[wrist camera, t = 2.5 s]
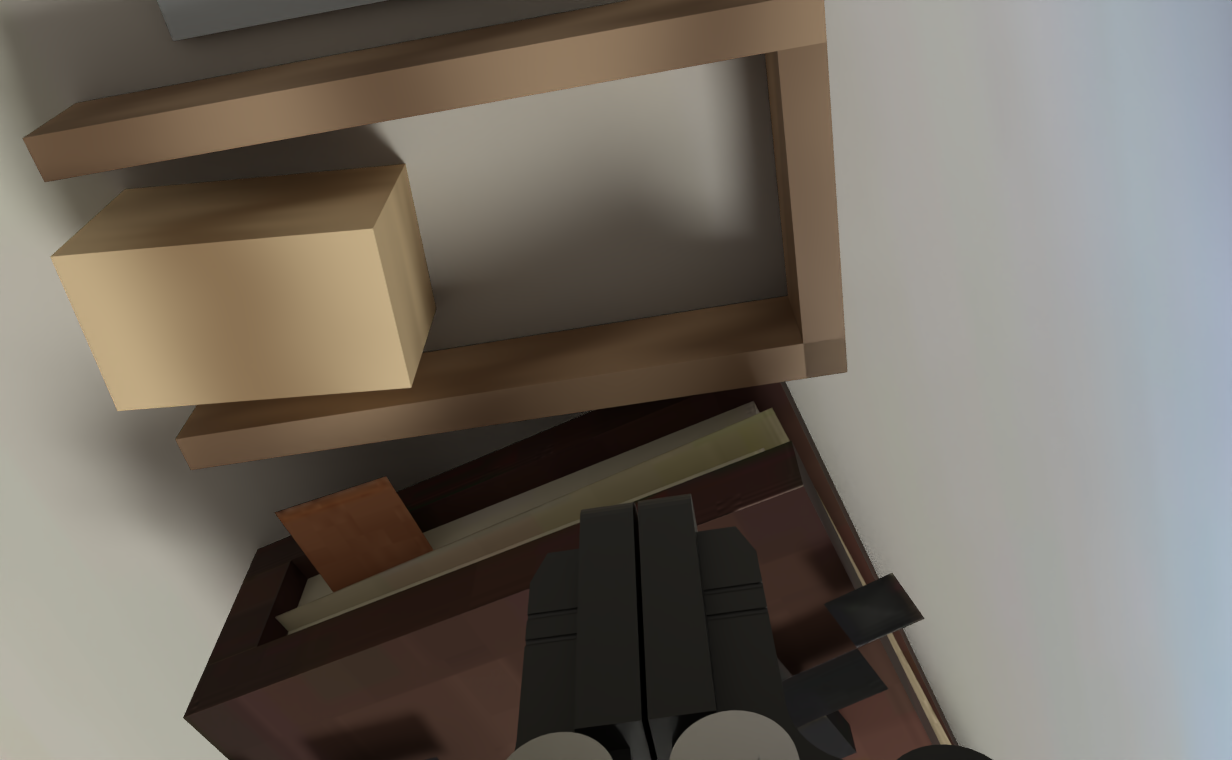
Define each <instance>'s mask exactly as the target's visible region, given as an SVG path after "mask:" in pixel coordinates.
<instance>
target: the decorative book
mask: <svg viewBox="0 0 1232 760" xmlns="http://www.w3.org/2000/svg"><path fill="white" fill-rule="evenodd" d="M684 494H691V497H692V502H693V507H694V513H695V519H696V524H697V530H698V531H705V530H712V529H719V528H726V527H733V526H736V527H737V529H738V530H739V531H740V532H741V533H742V535H743V536H744V537H745V538H746V539H747V540H748V542H749V543H750V544H751V545H752V546H753V547H754V549H755V550H756V551H757V557H758V562H759V567H760V572H761V577H762V583H763V588H764V593H765V598H766V603H767V609H768V613H769V619H770V624H771V629H772V634H773V639H774V644H775V650H776V655H777V660H778V665H779V670H780V676H781V681H782V686H783V691H784V696H785V701H786V706H787V710H788V713H789V716H790V718H791V720H792V722H793V724H794V725H795V727H796V728H797V729H798V731H799V732H800V733H801V734H802V735H803V736H804V737H805V738H806V739H807V740H808V741H809V742H810V743H811V744H813V745H814V746H815V747H817V748H818V749H820V750H822V751H824V752H826V753H827V754H829V755H832V756H835V757H837V758H840V759H843V760H897V759H898V758H900V757H901V756H902V755H904V754H906V753H908V752H909V751H911V750H914V749H917V748H920V747H923V746H929V745H940V744H947V745H956V746H958V744H957V742H956V740H955V737H954V735H953V733H952V731H951V729H950V727H949V725H948V723H947V721H946V719H945V716H944V714H943V712H942V710H941V708H940V706H939V704H938V702H937V700H936V698H935V695H934V693H933V691H932V689H931V687H930V685H929V683H928V681H927V679H926V677H925V674H924V672H923V670H922V668H921V666H920V664H919V662H918V660H917V658H916V656H915V653H914V651H913V649H912V647H911V645H910V643H909V641H908V639H907V637H906V635H905V632H904V630H903V628H904V627H906V626H909V625H911V624H913V623H916V622H918V621H920V620H923V619H924V617H923V616H922V614H921V613H920V612H919V610H918V609H917V607H916V606H915V604H914V603H913V602H912V600H911V599H910V597H909V596H908V594H907V593H906V592H905V590H904V589H903V587H902V586H901V584H900V583H899V582H898V580H897V579H896V577H895V576H894V574H893V573H891V574H888V575H886V576H884V577H882V578H880V579H879V578H878V576H877V574H876V572H875V569H874V567H873V565H872V563H871V561H870V559H869V557H868V555H867V553H866V551H865V548H864V546H863V544H862V542H861V540H860V538H859V536H858V534H857V532H856V530H855V528H854V525H853V523H852V521H851V519H850V517H849V515H848V513H847V511H846V509H845V507H844V504H843V502H842V500H841V498H840V496H839V494H838V492H837V490H836V488H835V486H834V483H833V481H832V479H831V477H830V475H829V473H828V471H827V469H826V467H825V465H824V462H823V460H822V458H821V456H820V454H819V452H818V450H817V448H816V446H815V444H814V441H813V439H812V437H811V435H810V433H809V431H808V429H807V427H806V425H805V423H804V420H803V418H802V416H801V414H800V412H799V410H798V408H797V406H796V404H795V402H794V399H793V397H792V395H791V393H790V391H789V389H788V387H787V385H786V383H785V381H784V382H778V383H771V384H764V385H758V386H751V387H744V388H738V389H731V390H724V391H717V392H711V393H704V394H697V395H691V396H684V397H677V398H671V399H664V400H657V401H650V402H644V403H637V404H630V405H624V406H617V407H610V408H604V409H597V410H594V411H592V412H589V413H587V414H585V415H582V416H580V417H577V418H575V419H572V420H570V421H568V422H565V423H563V424H560V425H558V426H556V427H553V428H551V429H548V430H546V431H543V432H541V433H539V434H536V435H534V436H531V437H529V438H526V439H524V440H522V441H519V442H517V443H514V444H512V445H510V446H507V447H505V448H502V449H500V450H497V451H495V452H493V453H490V454H488V455H485V456H483V457H480V458H478V459H476V460H473V461H471V462H468V463H466V464H464V465H461V466H459V467H456V468H454V469H451V470H449V471H447V472H444V473H442V474H439V475H437V476H435V477H432V478H430V479H427V480H425V481H422V482H420V483H418V484H415V485H413V486H410V487H408V488H405V489H403V490H401V491H398V492H396V491H395V489H394V488H393V486H392V485H391V483H390V482H389V480H388V478H387V477H386V476H385V477H382V478H379V479H376V480H372V481H369V482H366V483H363V484H360V485H357V486H354V487H351V488H348V489H345V490H342V491H339V492H336V493H333V494H330V495H327V496H324V497H321V498H317V499H314V500H311V501H308V502H305V503H302V504H299V505H296V506H293V507H290V508H287V509H284V510H281V511H278V512H275V514H276V515H277V517H278V518H279V519H280V521H281V522H282V524H283V525H284V526H285V528H286V529H287V530H288V532H289V533H290V534H291V536H289V537H287V538H284V539H282V540H280V541H277V542H275V543H272V544H270V545H267V546H265V547H263V548H260V549H258V550H257V552H256V554H255V556H254V559H253V561H252V563H251V566H250V568H249V570H248V572H247V575H246V577H245V579H244V581H243V584H242V586H241V588H240V590H239V593H238V595H237V597H236V599H235V602H234V604H233V606H232V608H231V611H230V613H229V615H228V618H227V620H226V622H225V624H224V627H223V629H222V631H221V633H220V636H219V638H218V640H217V642H216V645H215V647H214V649H213V651H212V654H211V656H210V658H209V661H208V663H207V665H206V667H205V670H204V672H203V674H202V676H201V679H200V681H199V683H198V685H197V688H196V690H195V692H194V694H193V697H192V699H191V701H190V703H189V706H188V708H187V710H186V713H185V715H184V717H183V718H184V719H185V720H186V721H187V722H188V723H189V724H190V725H192V726H193V727H194V728H195V729H196V730H197V731H198V732H199V733H200V734H201V735H202V736H204V737H205V738H206V739H207V740H208V741H209V742H210V743H211V744H212V745H213V746H215V747H216V748H217V749H218V750H219V751H220V752H221V753H222V754H223V755H224V756H225V757H227V758H228V759H229V760H506V759H507V758H508V757H509V756H510V755H511V754H512V753H513V752H514V751H515V746H516V740H517V729H518V717H519V706H520V694H521V682H522V670H523V659H524V647H525V646H526V642H525V635H526V624H527V620H528V615H527V612H528V600H529V588H530V582H531V580H532V579H533V577H534V575H535V573H536V572H537V570H538V568H539V567H540V565H541V563H542V562H543V560H544V558H545V557H546V555H547V553H552V552H559V551H566V550H573V549H579V535H580V513H581V510H582V509H589V508H596V507H603V506H610V505H617V504H624V503H631V502H634V503H635V505H636V509H637V513H638V501H643V500H650V499H656V498H663V497H670V496H677V495H684Z"/></svg>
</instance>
